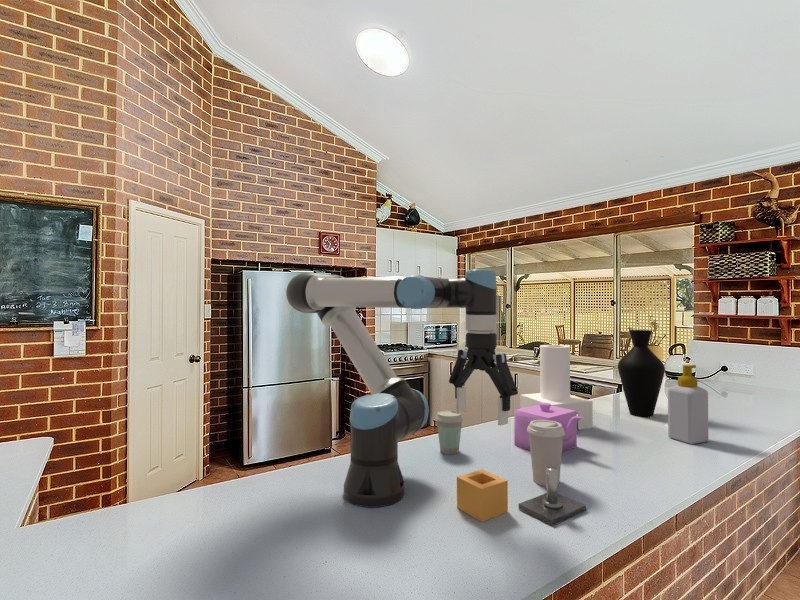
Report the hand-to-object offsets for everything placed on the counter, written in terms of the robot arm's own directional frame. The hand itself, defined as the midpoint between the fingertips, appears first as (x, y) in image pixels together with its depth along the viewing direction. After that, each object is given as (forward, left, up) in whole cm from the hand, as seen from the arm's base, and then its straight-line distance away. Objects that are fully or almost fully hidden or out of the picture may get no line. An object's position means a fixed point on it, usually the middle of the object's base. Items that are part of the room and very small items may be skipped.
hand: (481, 418), depth 107 cm
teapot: (+42, +13, -19) cm, 48 cm away
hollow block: (-6, -6, -18) cm, 20 cm away
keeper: (+7, -15, -18) cm, 25 cm away
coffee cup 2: (+19, -4, -19) cm, 27 cm away
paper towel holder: (+67, +29, -19) cm, 75 cm away
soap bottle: (+87, -9, -19) cm, 89 cm away
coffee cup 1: (+13, +28, -19) cm, 36 cm away
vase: (+107, +17, -19) cm, 110 cm away
